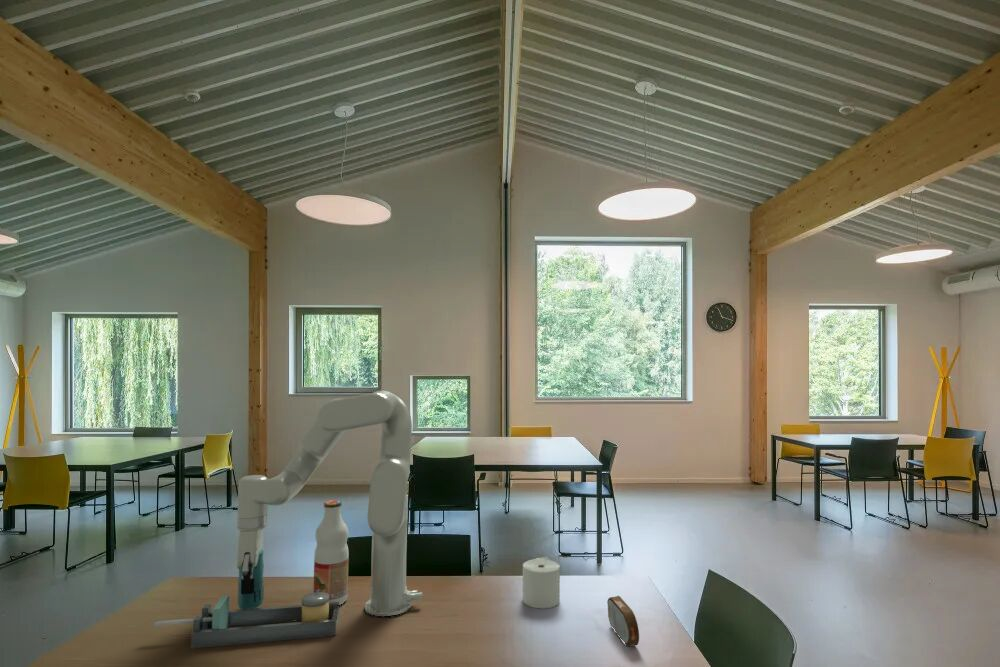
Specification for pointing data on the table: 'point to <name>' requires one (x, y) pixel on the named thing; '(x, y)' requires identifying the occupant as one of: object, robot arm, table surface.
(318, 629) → the lane
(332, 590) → the fruit juice
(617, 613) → the tin
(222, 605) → the pusher
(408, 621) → the table surface
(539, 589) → the toilet tissue
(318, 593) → the jar
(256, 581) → the beverage bottle
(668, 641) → the table surface
